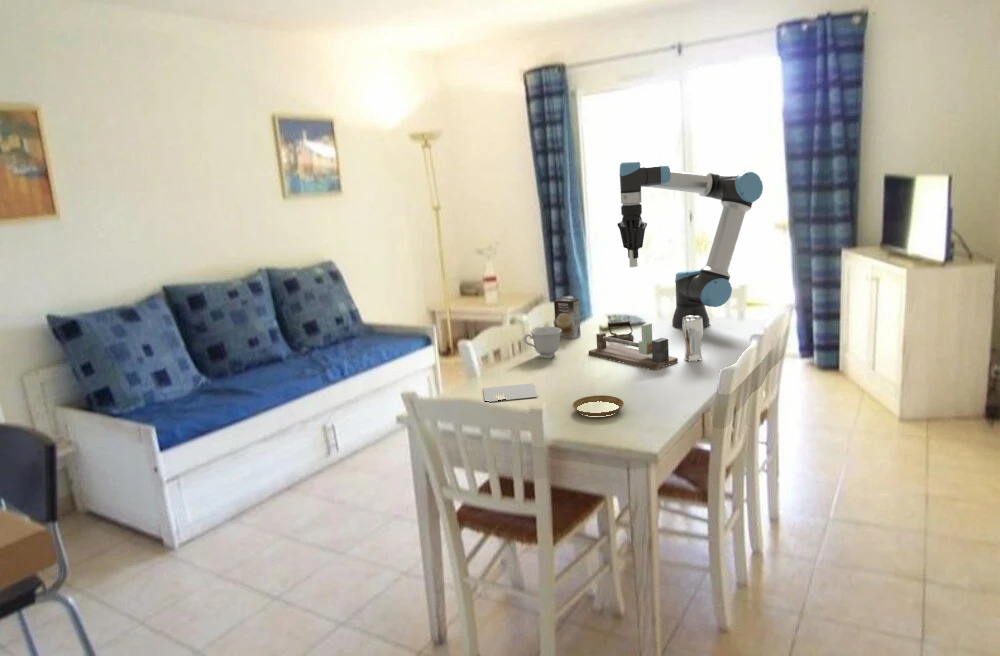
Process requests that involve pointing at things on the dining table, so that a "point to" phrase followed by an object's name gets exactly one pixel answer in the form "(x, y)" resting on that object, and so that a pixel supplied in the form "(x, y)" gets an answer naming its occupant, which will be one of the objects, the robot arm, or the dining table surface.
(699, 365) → the dining table surface
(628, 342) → the rack
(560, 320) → the coffee box
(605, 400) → the plant saucer
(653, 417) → the dining table surface
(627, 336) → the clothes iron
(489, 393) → the paper stack
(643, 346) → the sleeve
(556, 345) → the teacup
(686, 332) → the beer glass
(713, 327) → the dining table surface
